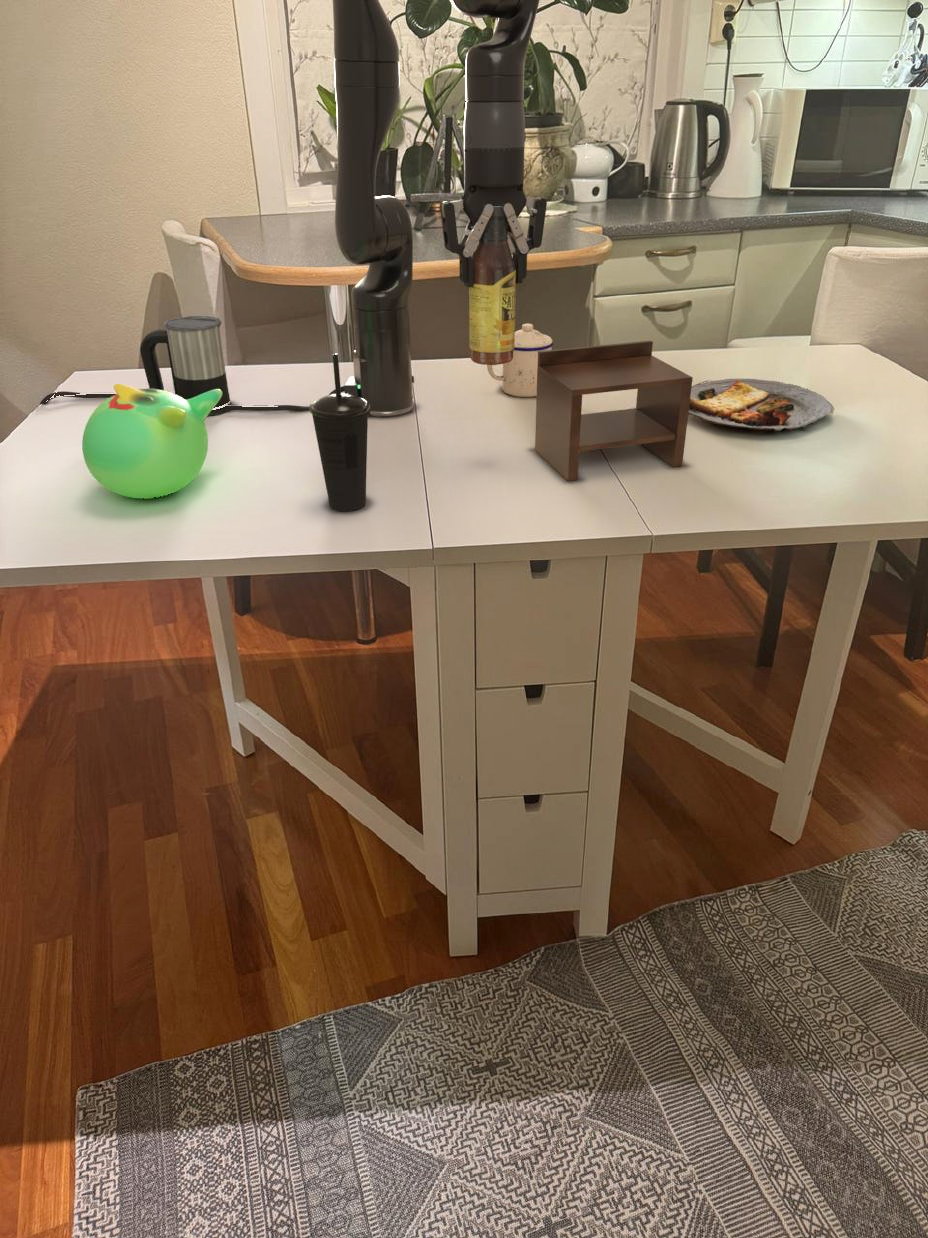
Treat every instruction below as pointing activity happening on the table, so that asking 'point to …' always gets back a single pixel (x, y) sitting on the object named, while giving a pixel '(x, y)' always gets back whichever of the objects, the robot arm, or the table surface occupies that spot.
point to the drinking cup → (342, 445)
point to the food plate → (757, 404)
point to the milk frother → (189, 358)
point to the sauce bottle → (493, 296)
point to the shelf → (606, 371)
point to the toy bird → (147, 440)
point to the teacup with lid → (523, 362)
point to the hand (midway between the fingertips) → (492, 283)
